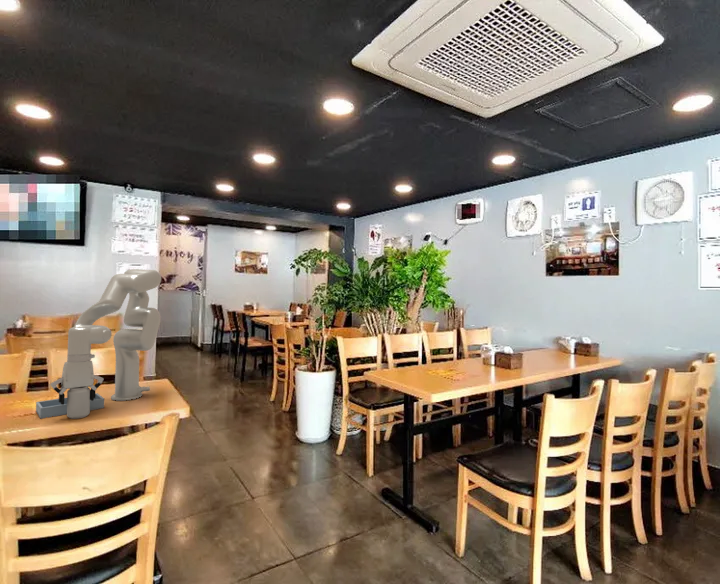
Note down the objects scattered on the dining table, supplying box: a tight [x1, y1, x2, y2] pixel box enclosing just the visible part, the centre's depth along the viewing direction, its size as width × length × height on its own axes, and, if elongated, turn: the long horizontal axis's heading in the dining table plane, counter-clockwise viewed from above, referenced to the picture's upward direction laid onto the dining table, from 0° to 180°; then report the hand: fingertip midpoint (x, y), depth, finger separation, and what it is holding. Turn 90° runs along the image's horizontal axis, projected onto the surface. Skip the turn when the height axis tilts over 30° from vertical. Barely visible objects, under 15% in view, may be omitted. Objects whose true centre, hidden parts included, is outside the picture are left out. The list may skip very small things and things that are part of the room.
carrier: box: [35, 392, 105, 419], centre depth 169 cm, size 21×11×4 cm, turn 135°
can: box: [66, 386, 91, 420], centre depth 161 cm, size 8×8×12 cm
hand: (77, 401), depth 161 cm, fingers open, 9 cm apart
